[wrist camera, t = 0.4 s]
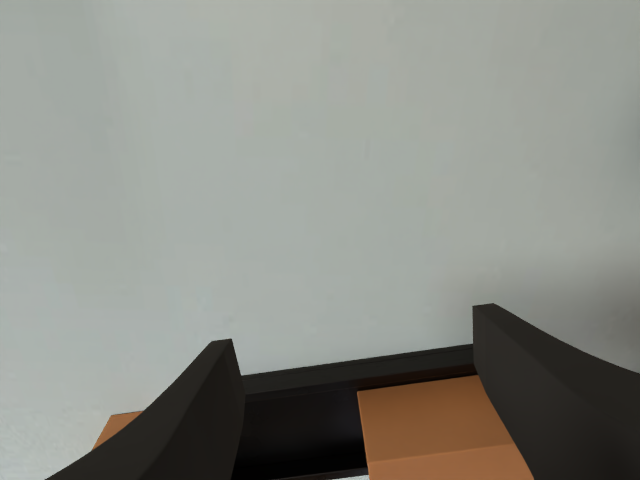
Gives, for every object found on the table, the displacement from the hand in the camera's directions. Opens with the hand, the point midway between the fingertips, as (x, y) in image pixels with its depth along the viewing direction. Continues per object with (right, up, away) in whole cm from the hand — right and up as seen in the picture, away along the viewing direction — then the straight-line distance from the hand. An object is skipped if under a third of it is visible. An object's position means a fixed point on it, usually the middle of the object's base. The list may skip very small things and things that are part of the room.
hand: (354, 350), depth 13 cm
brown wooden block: (+5, -6, +13) cm, 15 cm away
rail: (+1, -7, +13) cm, 15 cm away
